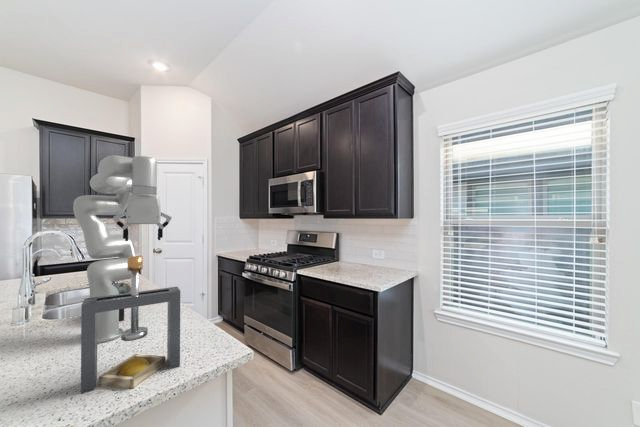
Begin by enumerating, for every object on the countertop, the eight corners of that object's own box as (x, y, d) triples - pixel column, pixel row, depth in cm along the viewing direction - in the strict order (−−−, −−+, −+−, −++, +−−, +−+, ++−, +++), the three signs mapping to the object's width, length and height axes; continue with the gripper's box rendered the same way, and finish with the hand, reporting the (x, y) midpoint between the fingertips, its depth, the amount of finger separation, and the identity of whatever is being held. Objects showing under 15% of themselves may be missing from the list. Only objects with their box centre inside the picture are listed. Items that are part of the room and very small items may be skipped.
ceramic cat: (127, 320, 131) (128, 278, 131) (110, 324, 126) (111, 280, 126) (117, 311, 144) (117, 272, 144) (101, 314, 139) (101, 274, 139)
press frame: (84, 381, 83) (84, 298, 83) (176, 357, 97) (177, 286, 97) (80, 394, 77) (81, 304, 77) (179, 366, 91) (180, 291, 92)
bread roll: (121, 386, 81) (121, 372, 81) (118, 372, 88) (118, 360, 88) (153, 375, 87) (153, 362, 87) (148, 363, 93) (148, 351, 94)
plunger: (121, 334, 88) (121, 256, 88) (147, 329, 92) (147, 254, 92) (120, 343, 82) (121, 259, 83) (148, 337, 86) (148, 257, 87)
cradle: (98, 385, 81) (98, 376, 81) (134, 361, 95) (134, 353, 95) (133, 388, 80) (133, 379, 80) (165, 363, 93) (165, 356, 93)
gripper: (112, 189, 90) (111, 242, 90) (172, 192, 99) (171, 240, 99) (114, 191, 96) (113, 240, 96) (171, 193, 105) (170, 238, 105)
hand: (143, 240), depth 98 cm, fingers open, 9 cm apart
